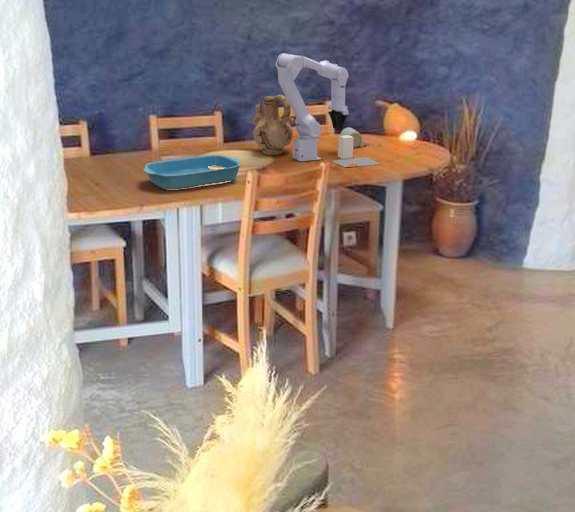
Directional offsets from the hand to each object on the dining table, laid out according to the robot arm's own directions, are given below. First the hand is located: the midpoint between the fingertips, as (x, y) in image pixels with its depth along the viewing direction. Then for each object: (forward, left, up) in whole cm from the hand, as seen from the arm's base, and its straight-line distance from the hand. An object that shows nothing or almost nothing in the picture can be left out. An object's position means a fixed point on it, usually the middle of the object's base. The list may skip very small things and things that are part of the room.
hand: (337, 129), depth 366 cm
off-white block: (0, -8, -10) cm, 13 cm away
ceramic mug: (+14, +11, -11) cm, 20 cm away
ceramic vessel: (-24, +13, -11) cm, 29 cm away
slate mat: (0, -17, -10) cm, 20 cm away
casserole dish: (-70, -20, -11) cm, 73 cm away
